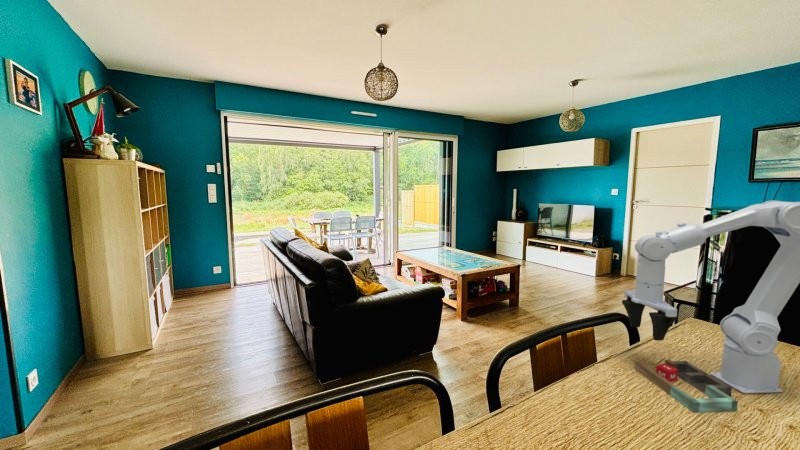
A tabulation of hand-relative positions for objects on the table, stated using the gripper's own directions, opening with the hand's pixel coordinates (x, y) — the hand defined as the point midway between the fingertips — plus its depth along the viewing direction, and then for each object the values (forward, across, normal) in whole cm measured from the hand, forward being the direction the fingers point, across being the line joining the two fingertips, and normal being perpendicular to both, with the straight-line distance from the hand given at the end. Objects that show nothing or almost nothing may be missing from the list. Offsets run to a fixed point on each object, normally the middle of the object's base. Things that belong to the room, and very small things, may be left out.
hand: (646, 333), depth 84 cm
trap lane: (+9, +9, +3) cm, 13 cm away
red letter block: (+10, +5, +2) cm, 11 cm away
